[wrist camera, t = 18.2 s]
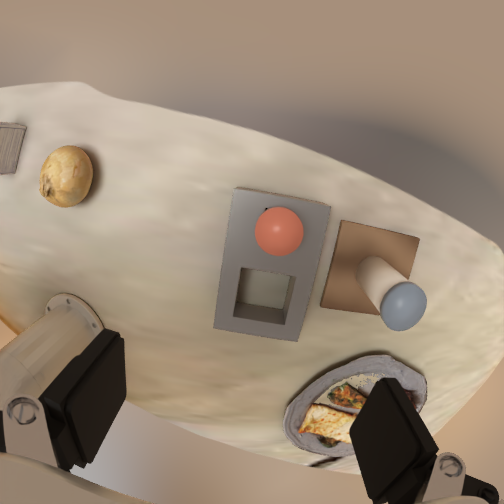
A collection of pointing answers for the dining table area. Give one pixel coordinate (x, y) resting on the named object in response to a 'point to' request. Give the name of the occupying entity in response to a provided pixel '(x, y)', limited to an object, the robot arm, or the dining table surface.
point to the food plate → (344, 404)
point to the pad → (353, 253)
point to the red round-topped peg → (278, 231)
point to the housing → (268, 265)
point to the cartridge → (391, 293)
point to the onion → (66, 176)
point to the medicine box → (10, 146)
